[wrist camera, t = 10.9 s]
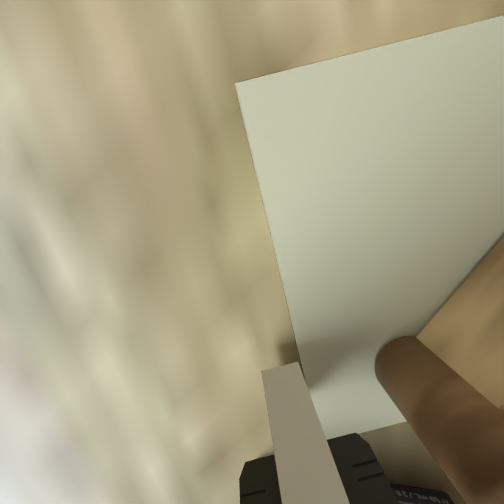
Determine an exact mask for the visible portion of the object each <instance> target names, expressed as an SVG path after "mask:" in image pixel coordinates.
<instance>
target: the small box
mask: <svg viewBox="0 0 504 504" xmlns="http://www.w3.org/2000/svg"><path fill="white" fill-rule="evenodd" d="M389 484H390V486H391V488H392V490H393V492H394V494H395V496H396V498H397V499H398V501H399V503H400V504H454V503H453V501H452V500H451V498H450V497H449V495H448V494H447V493H443V492H438V491H432V490H426V489H420V488H414V487H409V486H403V485H397V484H391V483H389Z"/></svg>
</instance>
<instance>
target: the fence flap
mask: <svg viewBox="0 0 504 504" xmlns="http://www.w3.org/2000/svg"><path fill="white" fill-rule="evenodd" d="M375 375H376V378H377V380H378V382H379V383H380V384H381V386H382V387H383V389H384V390H385V391H386V393H387V394H388V395H389V397H390V398H391V400H392V401H393V402H394V404H395V405H396V407H397V408H398V409H399V411H400V412H401V414H402V415H403V416H404V418H405V419H406V420H407V422H408V423H409V425H410V426H411V427H412V429H413V430H414V432H415V433H416V434H417V436H418V437H419V438H420V440H421V441H422V443H423V444H424V445H425V447H426V448H427V450H428V451H429V452H430V454H431V455H432V456H433V458H434V459H435V461H436V462H437V463H438V465H439V466H440V468H441V469H442V470H443V472H444V473H445V474H446V476H447V477H448V479H449V480H450V481H451V483H452V484H453V486H454V487H455V488H456V490H457V491H458V492H459V494H460V495H461V497H462V498H463V499H464V501H465V502H466V504H504V237H503V238H502V239H501V240H500V241H499V243H498V244H497V245H496V246H495V247H494V248H493V249H492V251H491V252H490V253H489V254H488V255H487V256H486V258H485V259H484V260H483V261H482V262H481V263H480V264H479V266H478V267H477V268H476V269H475V270H474V271H473V272H472V274H471V275H470V276H469V277H468V278H467V279H466V280H465V282H464V283H463V284H462V285H461V286H460V287H459V288H458V290H457V291H456V292H455V293H454V294H453V295H452V297H451V298H450V299H449V300H448V301H447V302H446V303H445V305H444V306H443V307H442V308H441V309H440V310H439V311H438V313H437V314H436V315H435V316H434V317H433V318H432V319H431V321H430V322H429V323H428V324H427V325H426V326H425V327H424V329H423V330H422V331H421V332H420V333H419V334H418V336H417V337H415V336H404V337H400V338H397V339H394V340H392V341H391V342H389V343H388V344H387V345H385V346H384V347H383V349H382V350H381V351H380V353H379V354H378V356H377V358H376V362H375Z"/></svg>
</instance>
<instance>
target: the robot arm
mask: <svg viewBox="0 0 504 504" xmlns="http://www.w3.org/2000/svg"><path fill="white" fill-rule="evenodd" d="M262 378H263V384H264V391H265V397H266V404H267V410H268V416H269V423H270V429H271V436H272V442H273V448H274V455H271V456H267V457H263V458H259V459H255V460H252V461H248V462H245V465H244V467H243V470H242V473H241V476H240V478H239V482H240V504H400V503H399V501H398V499H397V498H396V496H395V494H394V492H393V490H392V488H391V486H390V484H389V482H388V480H387V478H386V476H385V475H384V473H383V470H382V469H381V467H380V465H379V463H378V462H377V459H376V457H375V455H374V453H373V451H372V449H371V447H370V445H369V444H368V443H367V442H366V441H365V440H364V439H363V438H361V437H360V436H359V435H358V434H357V433H356V432H355V433H351V434H347V435H344V436H340V437H336V438H332V439H328V440H326V437H325V434H324V432H323V429H322V426H321V423H320V421H319V418H318V415H317V412H316V410H315V407H314V404H313V401H312V399H311V396H310V393H309V390H308V388H307V385H306V382H305V379H304V377H303V374H302V371H301V368H300V366H299V363H298V362H294V363H291V364H287V365H283V366H279V367H275V368H271V369H267V370H263V371H262Z"/></svg>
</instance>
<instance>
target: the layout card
mask: <svg viewBox="0 0 504 504" xmlns="http://www.w3.org/2000/svg"><path fill="white" fill-rule="evenodd" d="M235 88H236V92H237V96H238V100H239V104H240V109H241V113H242V117H243V121H244V125H245V130H246V134H247V138H248V142H249V146H250V151H251V155H252V159H253V163H254V167H255V172H256V176H257V180H258V184H259V188H260V193H261V197H262V201H263V205H264V209H265V214H266V218H267V222H268V226H269V230H270V235H271V239H272V243H273V247H274V251H275V256H276V260H277V264H278V268H279V272H280V277H281V281H282V285H283V289H284V293H285V297H286V302H287V306H288V310H289V314H290V318H291V323H292V327H293V331H294V335H295V339H296V344H297V348H298V352H299V356H300V360H301V365H302V369H303V373H304V377H305V381H306V385H307V388H308V390H309V393H310V396H311V399H312V401H313V404H314V407H315V410H316V412H317V415H318V418H319V421H320V423H321V426H322V429H323V432H324V434H325V437H326V440H328V439H332V438H336V437H340V436H344V435H347V434H351V433H355V432H356V433H357V434H360V433H363V432H367V431H371V430H375V429H379V428H383V427H387V426H390V425H394V424H398V423H402V422H406V421H407V420H406V419H405V418H404V416H403V415H402V414H401V412H400V411H399V409H398V408H397V407H396V405H395V404H394V402H393V401H392V400H391V398H390V397H389V395H388V394H387V393H386V391H385V390H384V389H383V387H382V386H381V384H380V383H379V382H378V380H377V378H376V375H375V362H376V358H377V356H378V354H379V353H380V351H381V350H382V349H383V347H384V346H385V345H387V344H388V343H389V342H391V341H392V340H394V339H397V338H400V337H404V336H415V337H417V336H418V334H419V333H420V332H421V331H422V330H423V329H424V327H425V326H426V325H427V324H428V323H429V322H430V321H431V319H432V318H433V317H434V316H435V315H436V314H437V313H438V311H439V310H440V309H441V308H442V307H443V306H444V305H445V303H446V302H447V301H448V300H449V299H450V298H451V297H452V295H453V294H454V293H455V292H456V291H457V290H458V288H459V287H460V286H461V285H462V284H463V283H464V282H465V280H466V279H467V278H468V277H469V276H470V275H471V274H472V272H473V271H474V270H475V269H476V268H477V267H478V266H479V264H480V263H481V262H482V261H483V260H484V259H485V258H486V256H487V255H488V254H489V253H490V252H491V251H492V249H493V248H494V247H495V246H496V245H497V244H498V243H499V241H500V240H501V239H502V238H503V237H504V15H503V16H499V17H495V18H491V19H487V20H484V21H480V22H476V23H472V24H468V25H464V26H460V27H456V28H452V29H448V30H444V31H440V32H436V33H432V34H428V35H424V36H420V37H416V38H412V39H408V40H404V41H401V42H397V43H393V44H389V45H385V46H381V47H377V48H373V49H369V50H365V51H361V52H357V53H353V54H349V55H345V56H341V57H337V58H333V59H329V60H325V61H321V62H317V63H314V64H310V65H306V66H302V67H298V68H294V69H290V70H286V71H282V72H278V73H274V74H270V75H266V76H262V77H258V78H254V79H250V80H246V81H242V82H238V83H235Z"/></svg>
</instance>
